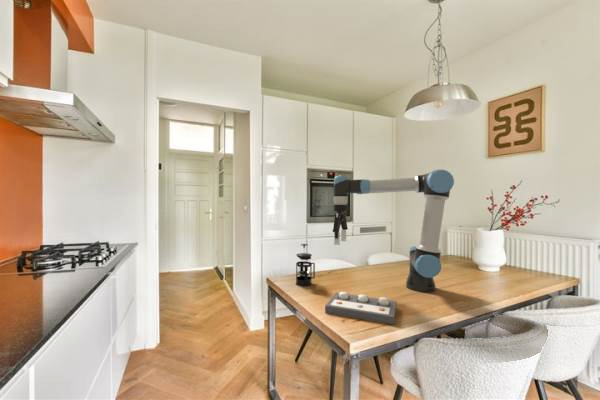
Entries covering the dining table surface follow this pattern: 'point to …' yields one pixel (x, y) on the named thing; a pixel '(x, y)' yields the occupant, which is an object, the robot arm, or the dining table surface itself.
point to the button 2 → (384, 301)
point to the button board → (362, 309)
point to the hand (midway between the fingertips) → (340, 242)
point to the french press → (304, 278)
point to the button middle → (363, 298)
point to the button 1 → (343, 295)
